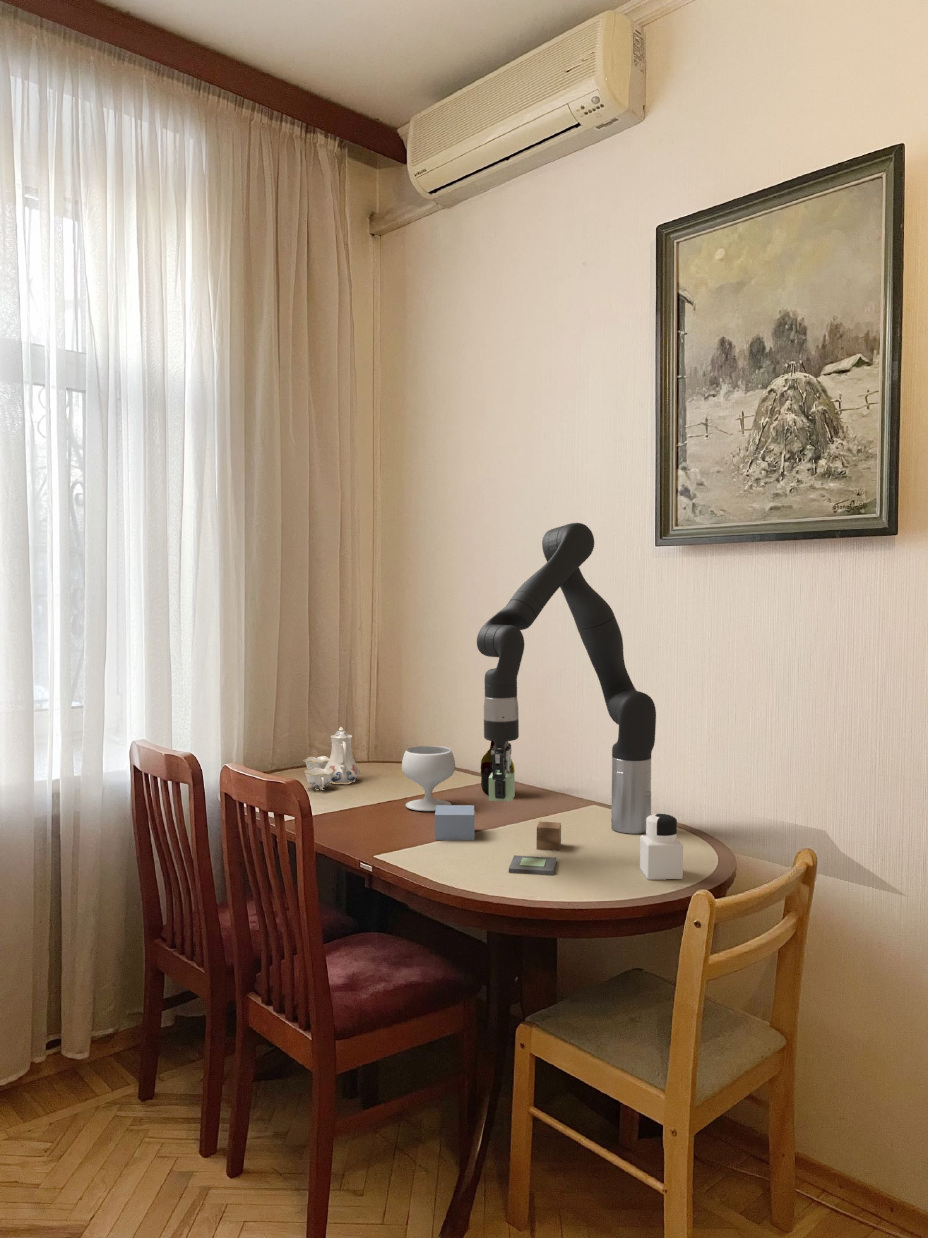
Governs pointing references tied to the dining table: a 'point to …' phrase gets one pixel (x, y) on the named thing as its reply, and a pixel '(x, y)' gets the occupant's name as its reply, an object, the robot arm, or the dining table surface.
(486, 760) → the bottle
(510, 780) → the sage cube
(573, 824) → the dining table surface
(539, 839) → the walnut cube
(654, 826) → the medicine bottle
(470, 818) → the base block
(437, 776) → the chalice
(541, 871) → the tile
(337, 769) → the chinaware
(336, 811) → the dining table surface
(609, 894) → the dining table surface
